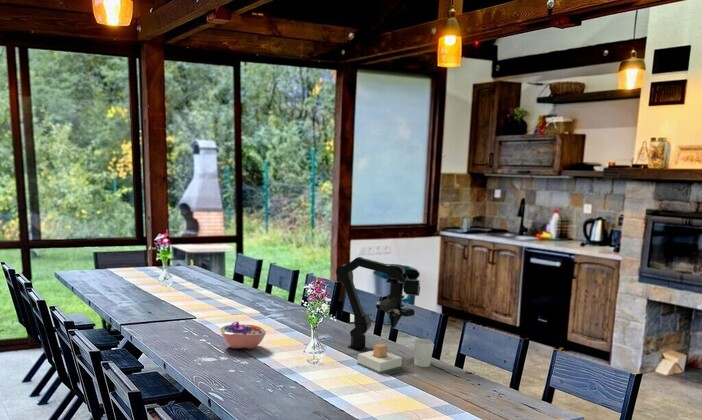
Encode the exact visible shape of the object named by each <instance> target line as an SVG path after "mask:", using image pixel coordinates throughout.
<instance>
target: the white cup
mask: <svg viewBox="0 0 702 420" xmlns="http://www.w3.org/2000/svg"><path fill="white" fill-rule="evenodd" d="M413 347H414V349H413V350H414V352H413V353H414V354H413V357H414V358H413V360H414V361H413V363H414V365H415V366H416V367H421V368H428V367H430V366H431V361H432V360H431V359H432V355H433V349H434V348H433V347H434V342H433V340H430V339H426V338H417V339H415V340H414V346H413Z"/></svg>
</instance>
